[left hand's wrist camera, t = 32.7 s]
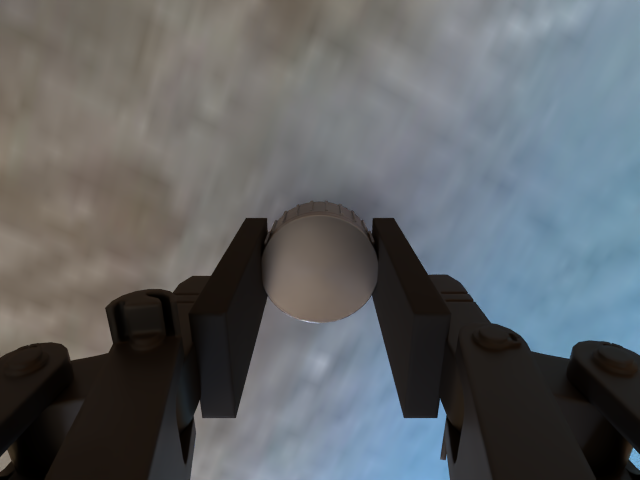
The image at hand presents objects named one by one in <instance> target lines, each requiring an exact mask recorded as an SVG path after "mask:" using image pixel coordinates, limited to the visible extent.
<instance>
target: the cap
mask: <svg viewBox="0 0 640 480" xmlns="http://www.w3.org/2000/svg"><path fill="white" fill-rule="evenodd" d="M374 244H375V242H374V239H373V236H372V234H371V231H368V229H367V227H366V225H365V222H364V220H361V219H360V218H359V217H358V216H357V215H355V213H354V211H353V210H352V211H350V210H348V209H347V208H344V207H342V205H341V204H339V205H337V204H334V203H328V201H325V202H313V201H311V203H306V204H302V205H299V204H298V205H297V206H296V207H295V208H293V209H291V210H289V211H288V212H287V211H285V212H284V215H283V216H282V217H280V218H279V220H278V221H277V220H276V221H275V222H274V225H273V228H272V230H271V232H268V234H267V237H266V239H265V242H264V245H265V247H264V250H263V253H262V256H261V265H262V282H263V287H264V289H265V291H266V293H267V295H268V297H269V298H270V299H271V301H272V302H273V303H274V304H275V305H276V306H277V307H278V308H279V309H280V310H282V311H283V312H284V313H286V314H288V315H290V316H291V317H294V318H296V319H298V320H302V321H306V322H312V323H328V322H333V321H337V320H341V319H343V318H346V317H348V316H350V315H351V314H353V313H355V312H356V311H357V310H359V309H360V308H361V307H362V306H363V305H364V304H365V303H366V302H367V301H368V300H369V298H370V297H371V295H372V293H373V292H374V290H375V287H376V285H377V279H378V256H377V253H376V250H375V247H374Z"/></svg>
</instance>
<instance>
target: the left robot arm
mask: <svg viewBox="0 0 640 480" xmlns="http://www.w3.org/2000/svg"><path fill="white" fill-rule="evenodd" d="M267 234H268V230H267V218H246V219H245V221H244V222H243V224H242V226H241V227H240V229H239V231H238V232H237V234H236V236H235V237H234V239H233V240H232V242H231V244H230V245H229V247H228V249H227V250H226V252H225V254H224V255H223V257H222V259H221V260H220V262H219V264H218V265H217V267H216V269H215V270H214V272H213V273H212V275H211V276H192V277H190V278H188V279H187V280H185V281H184V282H182V283H180V284H179V285H178V287H177V288H176V289H175V291H174V292H173V293H172V292H170V291H166V290H162V289H147V290H141V291H135V292H132V293H129V294H126V295H123V296H121V297H119V298H117V299H115V300H113V301H112V302H111V303H110V304H109V305H108V306H107V307H106V308H105V309H106V313H107V318H108V322H109V327H110V331H111V336H112V341H113V345H112V347H111V349H110V351H109V353H107V354H103V355H98V356H93V357H88V358H83V359H78V360H72V361H70V357H69V353H68V350H67V348H66V347H64V346H63V345H62V344H58V343H52V342H50V343H36V344H31V345H30V346H28V345H27V346H23V347H20V348H18V349H17V350H15V351H12V352H10V353H7V354H5V355H4V356H2V357H1V358H0V457H1V455H2V454H3V453H4V452H5V451H6V450H8V453H9V455H10V458H11V462H10V463H9V464H8V465H7V467H6V468H5V469H4V470H2V471H1V472H0V480H190V476H191V468H192V460H193V452H194V445H195V437H196V430H195V423H194V413H195V411H196V408H197V405H198V403H199V400H200V404H201V411H202V418H236V415H237V411H238V407H239V403H240V400H241V396H242V392H243V388H244V384H245V381H246V377H247V373H248V369H249V365H250V361H251V358H252V354H253V350H254V346H255V342H256V338H257V335H258V331H259V327H260V323H261V319H262V315H263V312H264V308H265V304H266V300H267V296H268V295H267V293H266V291H265V289H264V287H263V282H262V265H261V256H262V253H263V250H264V247H265V245H264V242H265V239H266V237H267ZM372 236H373V239H374V242H375V244H374V247H375V250H376V253H377V256H378V279H377V285H376V287H375V290H374V292H373V293H372V297H373V301H374V305H375V309H376V313H377V316H378V320H379V324H380V328H381V332H382V336H383V339H384V343H385V347H386V351H387V355H388V359H389V362H390V366H391V370H392V374H393V378H394V381H395V385H396V389H397V393H398V397H399V401H400V404H401V408H402V412H403V416H404V418H437V416H438V409H439V402H440V399H441V402H442V404H443V407H444V409H445V412H446V414H447V416H446V423H445V430H444V436H443V443H442V450H441V457H440V459H441V460H446V455H447V459H448V467H449V475H450V480H640V470H639V469H637V468H636V467H635V466H634V465H633V463H632V462H631V461H630V460H629V457H630V454H631V452H632V449H633V448H634V449H635V450H636V451H637V452H638V453H639V454H640V355H638V354H636V353H635V352H633V351H630V350H628V349H625V348H623V347H622V346H620V345H617V344H613V343H612V344H610V343H609V342H604V341H583V342H578V343H577V344H576V345H575V346H573V348H572V352H571V356H570V359H567V358H561V357H556V356H551V355H545V354H540V353H536V352H532V351H531V350H530V348H529V346H528V344H527V343H526V342H525V340H524V339H523V338H522V337H521V336H520V335H519V334H517V333H515V332H514V331H512V330H511V329H508V328H506V327H503V326H501V325H498V324H492V323H491V322H490V321H489V320H488V318H487V317H486V316H485V314H484V313H483V312H482V311H481V309H480V308H479V307H478V305H477V304H476V303H475V302H474V301H473V299H472V297H471V296H470V295H469V294H468V292H467V291H466V289H465V288H464V287H463V285H462V284H461V283H460V282H459V281H457V280H455V279H454V278H452V277H450V276H449V275H428V274H427V272H426V271H425V269H424V267H423V266H422V264H421V262H420V261H419V259H418V257H417V256H416V254H415V252H414V251H413V249H412V248H411V246H410V244H409V243H408V241H407V239H406V238H405V236H404V234H403V233H402V231H401V229H400V228H399V226H398V224H397V223H396V221H395V219H394V218H373V225H372Z"/></svg>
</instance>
